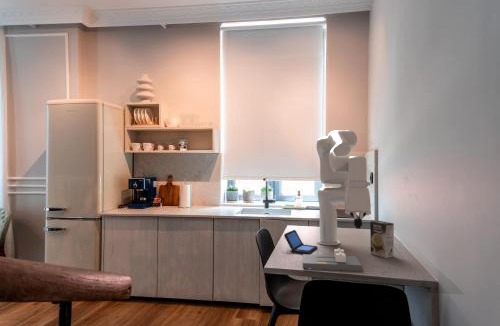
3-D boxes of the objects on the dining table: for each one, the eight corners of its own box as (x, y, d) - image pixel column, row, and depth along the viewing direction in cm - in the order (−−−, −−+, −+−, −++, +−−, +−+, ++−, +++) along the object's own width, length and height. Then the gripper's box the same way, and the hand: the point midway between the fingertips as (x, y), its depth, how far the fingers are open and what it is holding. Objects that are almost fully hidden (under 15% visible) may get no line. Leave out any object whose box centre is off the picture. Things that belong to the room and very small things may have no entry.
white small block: (335, 260, 145) (335, 251, 145) (345, 260, 144) (344, 252, 144) (336, 262, 142) (336, 253, 142) (345, 262, 141) (345, 253, 141)
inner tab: (334, 255, 152) (334, 247, 152) (343, 256, 151) (343, 248, 151) (334, 257, 149) (334, 249, 149) (344, 257, 148) (344, 249, 148)
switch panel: (303, 259, 156) (303, 254, 156) (356, 261, 152) (356, 255, 152) (303, 268, 142) (302, 262, 142) (361, 271, 138) (361, 265, 138)
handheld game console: (308, 255, 164) (308, 236, 164) (283, 252, 170) (283, 234, 170) (318, 248, 177) (318, 231, 177) (294, 245, 184) (294, 229, 184)
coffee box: (369, 253, 165) (369, 221, 165) (378, 252, 168) (378, 220, 168) (385, 258, 157) (385, 224, 157) (394, 256, 160) (394, 222, 160)
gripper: (374, 184, 145) (374, 226, 144) (338, 184, 147) (339, 226, 147) (377, 185, 137) (378, 230, 137) (340, 185, 140) (340, 229, 139)
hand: (358, 228), depth 142 cm, fingers closed
